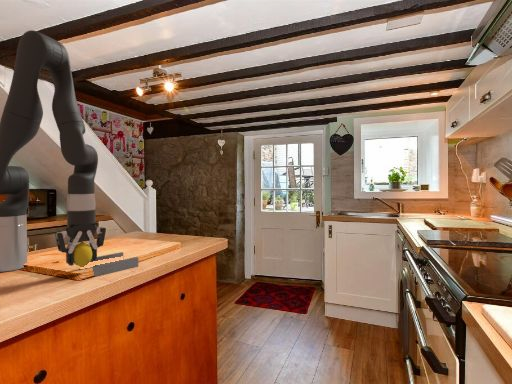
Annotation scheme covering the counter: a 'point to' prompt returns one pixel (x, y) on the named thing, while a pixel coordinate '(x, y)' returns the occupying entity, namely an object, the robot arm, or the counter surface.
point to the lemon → (82, 254)
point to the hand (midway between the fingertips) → (81, 262)
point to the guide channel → (114, 264)
